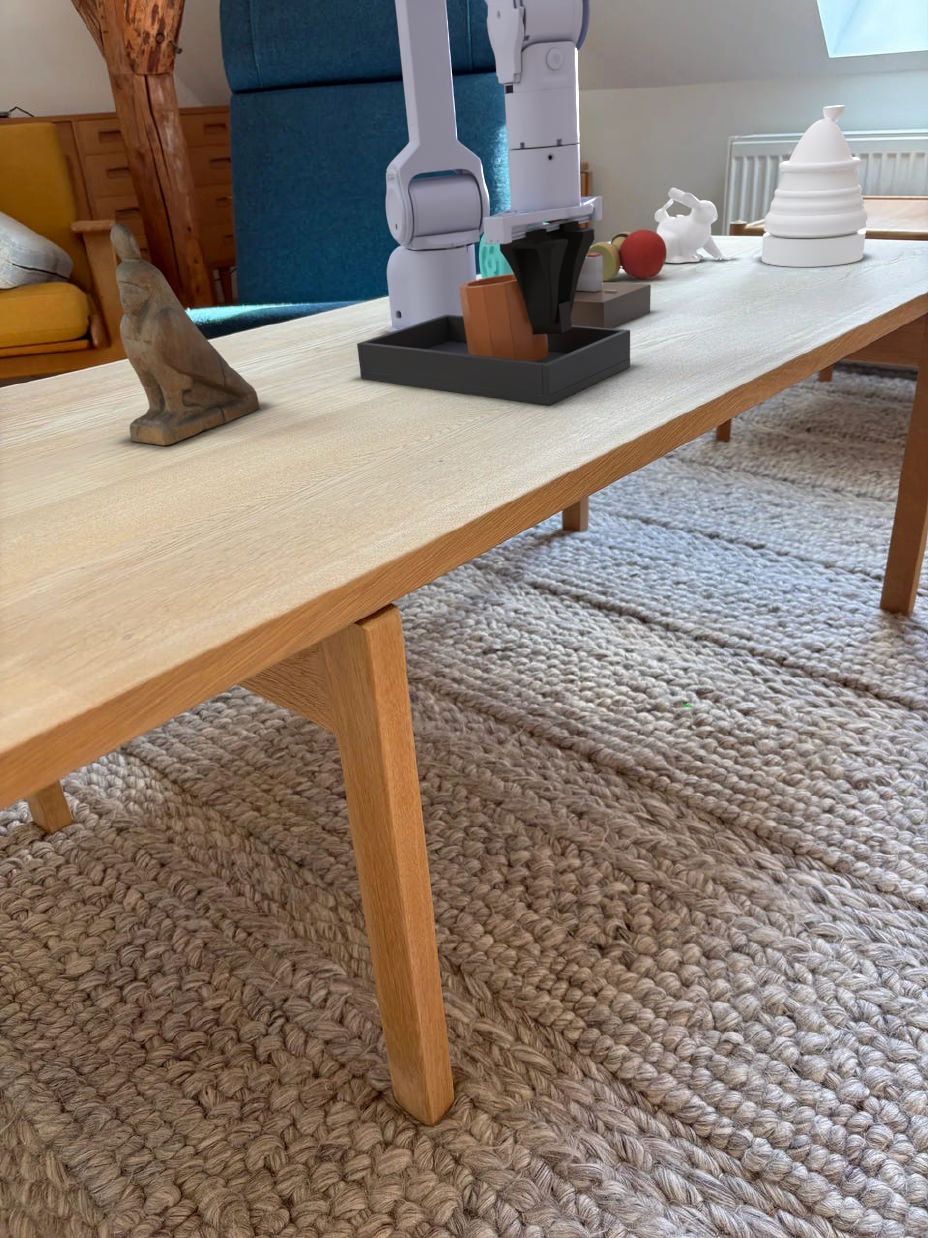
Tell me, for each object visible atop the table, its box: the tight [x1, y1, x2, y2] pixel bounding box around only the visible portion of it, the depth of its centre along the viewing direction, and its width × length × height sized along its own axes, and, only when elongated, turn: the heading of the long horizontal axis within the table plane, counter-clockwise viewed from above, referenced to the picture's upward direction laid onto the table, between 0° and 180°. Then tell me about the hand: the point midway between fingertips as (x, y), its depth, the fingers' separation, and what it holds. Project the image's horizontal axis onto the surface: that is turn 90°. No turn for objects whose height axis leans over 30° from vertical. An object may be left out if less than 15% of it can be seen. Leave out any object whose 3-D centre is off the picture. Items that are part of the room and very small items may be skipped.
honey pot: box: [761, 104, 868, 268], centre depth 127 cm, size 13×13×18 cm
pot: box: [459, 273, 572, 362], centre depth 86 cm, size 10×7×7 cm
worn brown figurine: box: [110, 222, 260, 446], centre depth 78 cm, size 12×6×18 cm, turn 145°
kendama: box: [587, 228, 667, 282], centre depth 129 cm, size 8×6×18 cm
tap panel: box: [571, 281, 652, 329], centre depth 108 cm, size 12×10×3 cm
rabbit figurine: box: [654, 187, 733, 264], centre depth 134 cm, size 12×8×10 cm, turn 50°
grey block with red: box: [576, 253, 604, 292], centre depth 106 cm, size 5×1×4 cm, turn 52°
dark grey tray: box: [356, 315, 631, 406], centre depth 89 cm, size 21×13×3 cm, turn 52°
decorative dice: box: [478, 222, 549, 279], centre depth 122 cm, size 8×8×8 cm
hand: (550, 321), depth 84 cm, fingers closed on pot, 2 cm apart
